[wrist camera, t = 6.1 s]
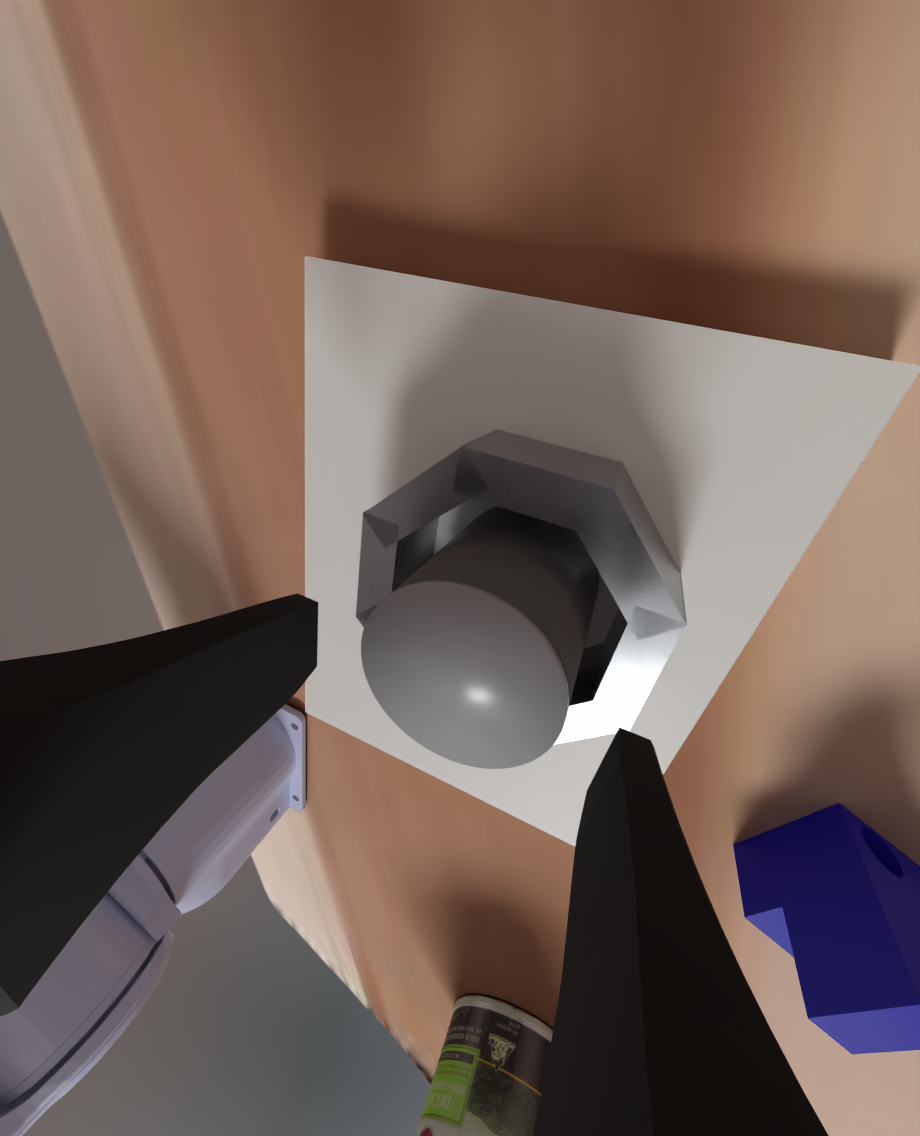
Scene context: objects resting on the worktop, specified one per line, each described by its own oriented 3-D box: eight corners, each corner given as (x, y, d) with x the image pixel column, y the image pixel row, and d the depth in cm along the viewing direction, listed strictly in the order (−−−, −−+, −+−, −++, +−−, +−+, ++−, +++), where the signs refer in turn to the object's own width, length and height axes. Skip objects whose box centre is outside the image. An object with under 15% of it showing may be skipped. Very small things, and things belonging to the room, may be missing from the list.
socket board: (610, 831, 20) (599, 939, 17) (323, 693, 24) (262, 755, 21) (890, 365, 11) (1021, 369, 7) (335, 264, 15) (223, 232, 11)
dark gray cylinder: (572, 657, 16) (532, 800, 10) (445, 608, 17) (355, 714, 12) (622, 530, 13) (600, 638, 8) (468, 484, 14) (368, 552, 9)
